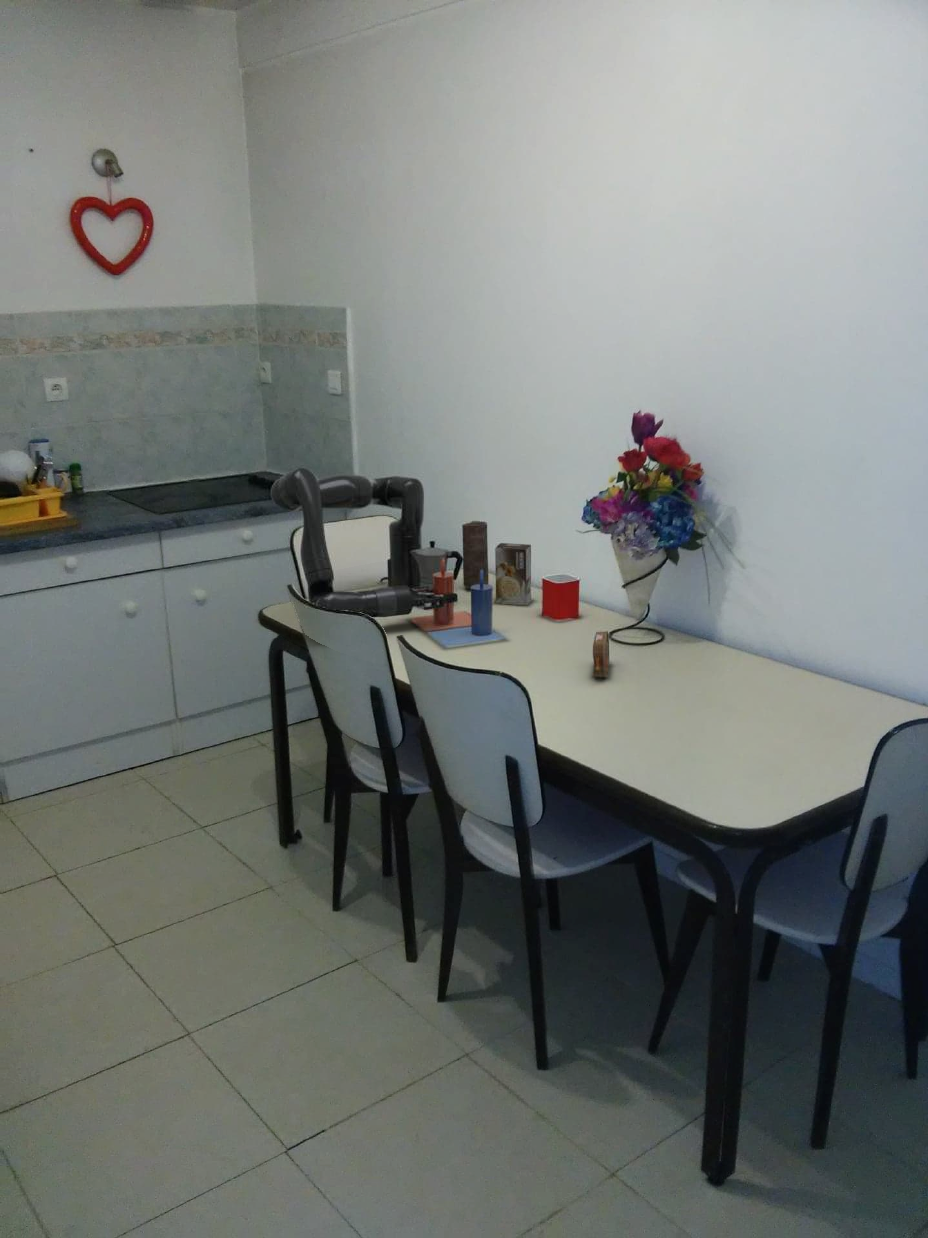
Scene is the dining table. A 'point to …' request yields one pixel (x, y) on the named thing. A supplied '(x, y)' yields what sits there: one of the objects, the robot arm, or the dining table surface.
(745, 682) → the dining table surface
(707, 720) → the dining table surface
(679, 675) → the dining table surface
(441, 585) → the terracotta spoon cup
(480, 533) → the candle
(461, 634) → the board
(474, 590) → the blue spoon cup
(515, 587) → the coffee box
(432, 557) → the coffeepot
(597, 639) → the tin
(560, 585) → the mug
